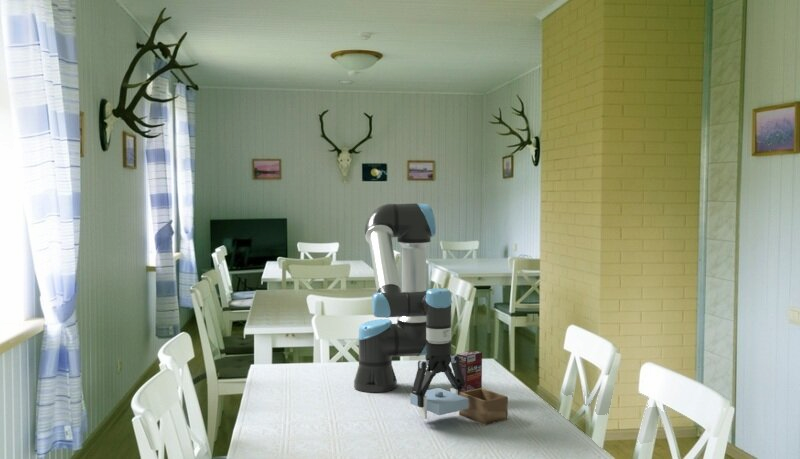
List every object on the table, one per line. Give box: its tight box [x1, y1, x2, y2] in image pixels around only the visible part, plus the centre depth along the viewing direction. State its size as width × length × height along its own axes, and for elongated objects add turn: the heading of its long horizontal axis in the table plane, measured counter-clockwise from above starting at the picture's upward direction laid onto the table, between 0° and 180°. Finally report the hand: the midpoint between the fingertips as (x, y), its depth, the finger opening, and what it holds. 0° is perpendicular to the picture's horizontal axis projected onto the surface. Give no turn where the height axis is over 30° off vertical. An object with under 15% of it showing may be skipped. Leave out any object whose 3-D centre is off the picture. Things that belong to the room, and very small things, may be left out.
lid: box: [409, 387, 468, 416], centre depth 214 cm, size 14×11×5 cm
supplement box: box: [455, 349, 483, 393], centre depth 237 cm, size 9×5×16 cm, turn 137°
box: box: [458, 387, 509, 426], centre depth 219 cm, size 12×9×7 cm
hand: (438, 413), depth 215 cm, fingers closed on lid, 11 cm apart
